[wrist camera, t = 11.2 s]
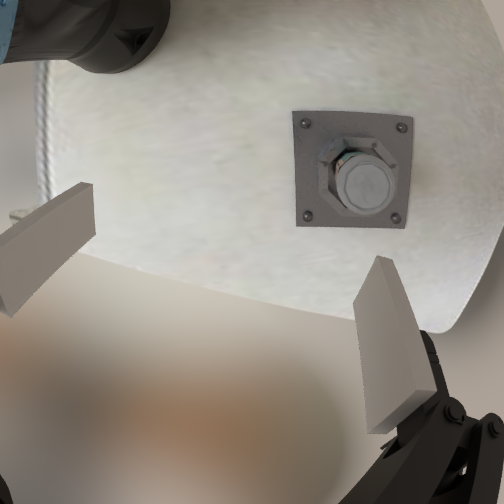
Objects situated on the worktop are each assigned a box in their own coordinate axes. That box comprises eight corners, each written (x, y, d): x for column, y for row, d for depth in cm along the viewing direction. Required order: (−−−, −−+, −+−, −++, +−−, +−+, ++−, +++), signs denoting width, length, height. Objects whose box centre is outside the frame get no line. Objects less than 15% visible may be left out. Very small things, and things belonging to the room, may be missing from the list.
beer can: (353, 200, 32) (365, 230, 22) (325, 170, 32) (323, 185, 21) (383, 173, 30) (409, 189, 19) (354, 142, 30) (368, 142, 19)
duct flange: (292, 111, 30) (291, 111, 27) (410, 116, 27) (422, 119, 24) (296, 224, 37) (295, 236, 33) (403, 226, 34) (411, 239, 31)
